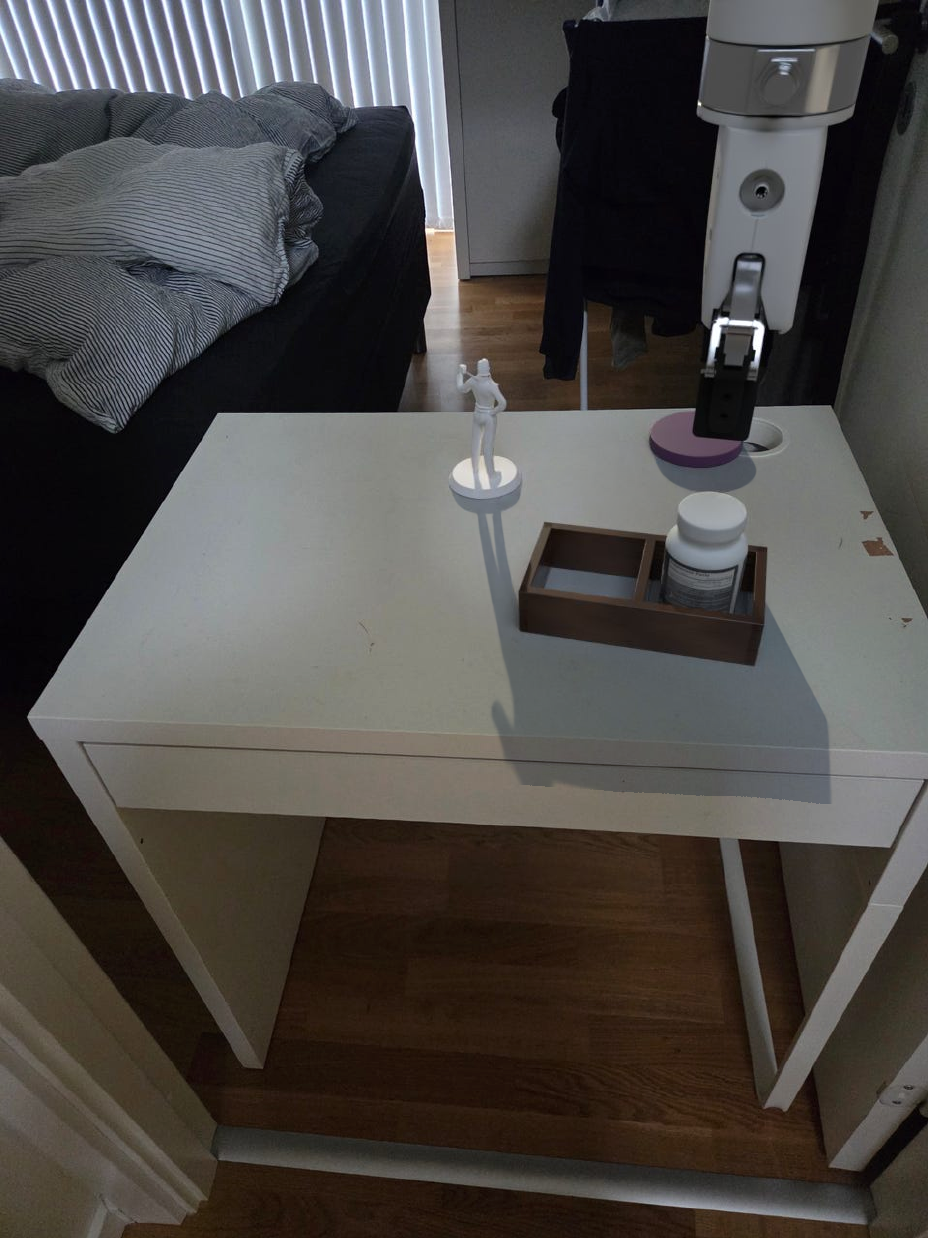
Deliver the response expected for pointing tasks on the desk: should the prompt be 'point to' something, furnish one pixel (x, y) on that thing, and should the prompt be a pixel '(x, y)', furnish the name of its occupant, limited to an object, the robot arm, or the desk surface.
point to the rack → (635, 598)
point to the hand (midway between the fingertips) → (724, 397)
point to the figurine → (485, 471)
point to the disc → (689, 443)
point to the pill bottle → (705, 554)
